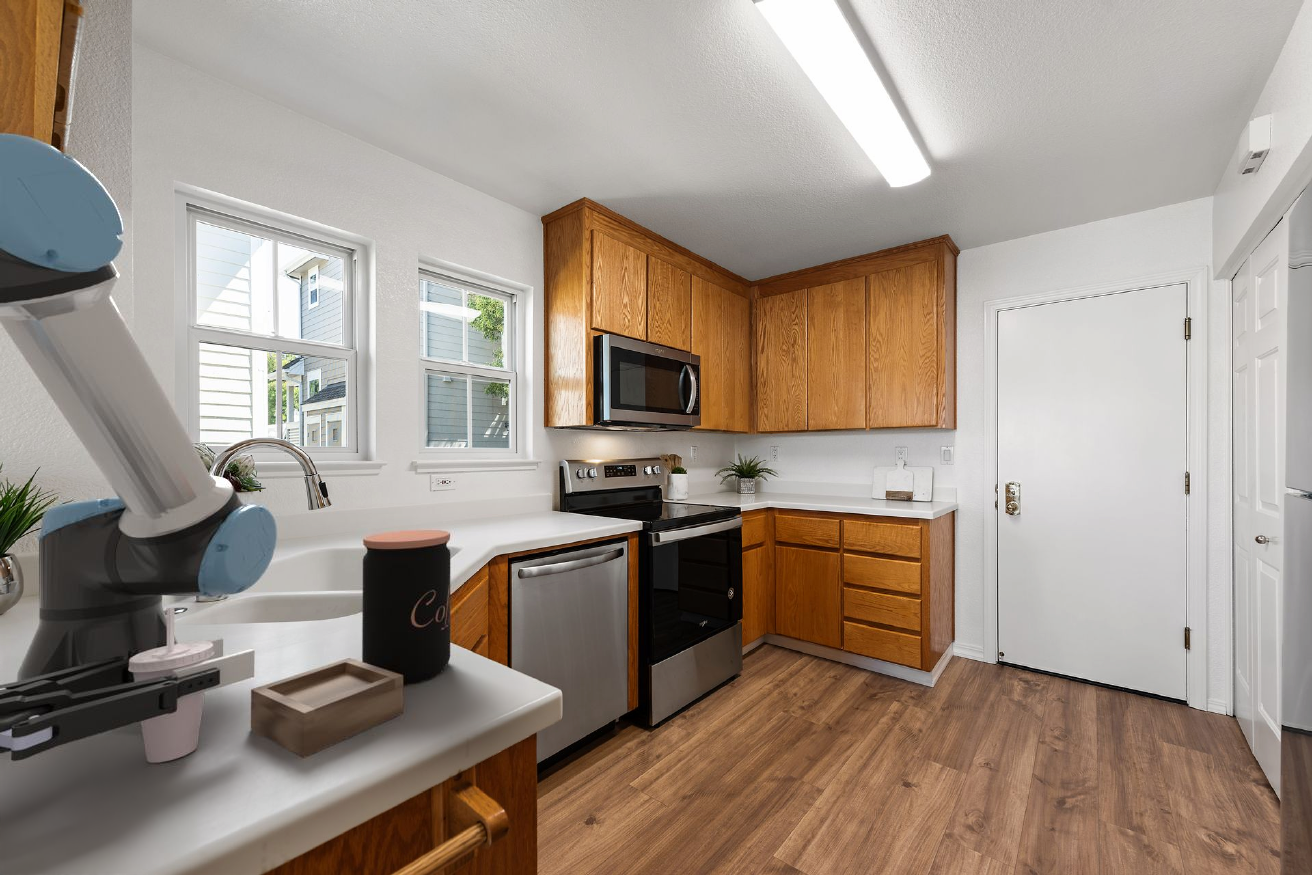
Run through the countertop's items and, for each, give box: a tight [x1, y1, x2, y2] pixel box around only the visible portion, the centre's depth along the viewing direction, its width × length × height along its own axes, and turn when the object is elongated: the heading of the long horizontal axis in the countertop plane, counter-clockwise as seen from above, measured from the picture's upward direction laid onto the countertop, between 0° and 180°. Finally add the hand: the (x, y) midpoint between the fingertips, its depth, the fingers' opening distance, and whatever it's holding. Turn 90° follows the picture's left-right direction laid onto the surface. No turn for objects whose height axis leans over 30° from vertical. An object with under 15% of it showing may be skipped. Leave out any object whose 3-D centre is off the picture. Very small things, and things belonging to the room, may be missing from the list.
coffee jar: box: [361, 529, 451, 686], centre depth 75 cm, size 11×11×18 cm
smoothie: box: [128, 606, 214, 764], centre depth 55 cm, size 6×6×14 cm
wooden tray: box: [250, 657, 404, 758], centre depth 61 cm, size 10×10×4 cm
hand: (236, 656), depth 60 cm, fingers closed on smoothie, 6 cm apart
